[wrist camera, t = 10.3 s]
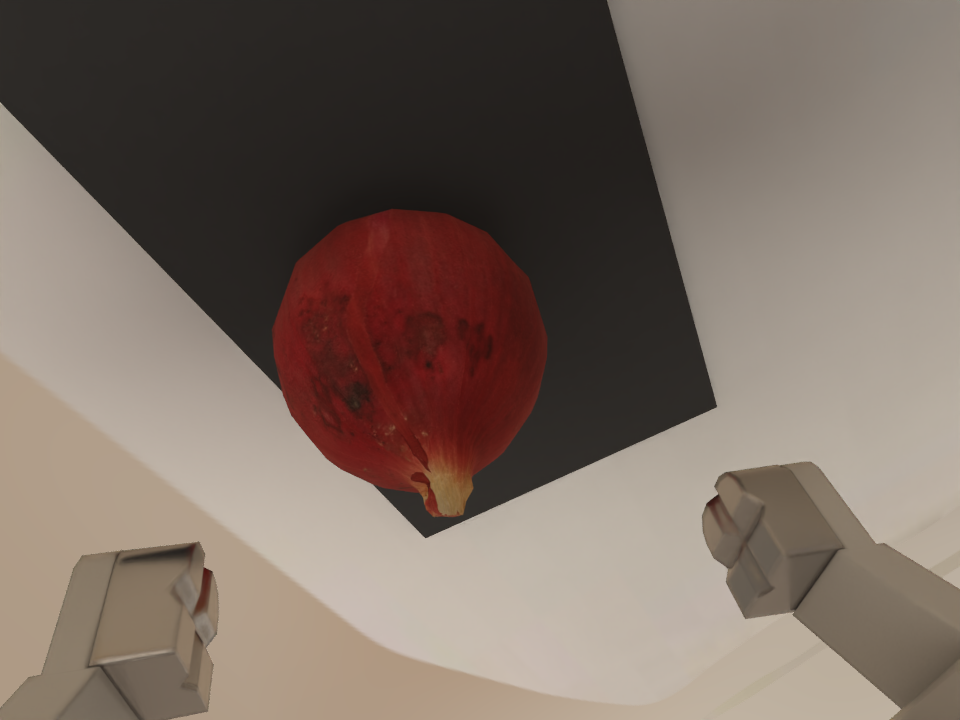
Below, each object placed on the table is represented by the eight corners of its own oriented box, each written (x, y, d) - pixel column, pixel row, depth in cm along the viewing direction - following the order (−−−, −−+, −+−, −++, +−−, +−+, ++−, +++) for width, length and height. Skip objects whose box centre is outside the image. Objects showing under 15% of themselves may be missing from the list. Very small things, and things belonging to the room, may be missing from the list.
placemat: (-164, -78, 11) (-174, -76, 11) (467, -494, 10) (470, -503, 9) (424, 532, 26) (425, 538, 25) (713, 401, 24) (717, 407, 24)
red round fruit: (228, 261, 16) (186, 528, 10) (395, 99, 15) (462, 304, 9) (393, 376, 20) (433, 626, 14) (543, 256, 18) (663, 479, 12)
